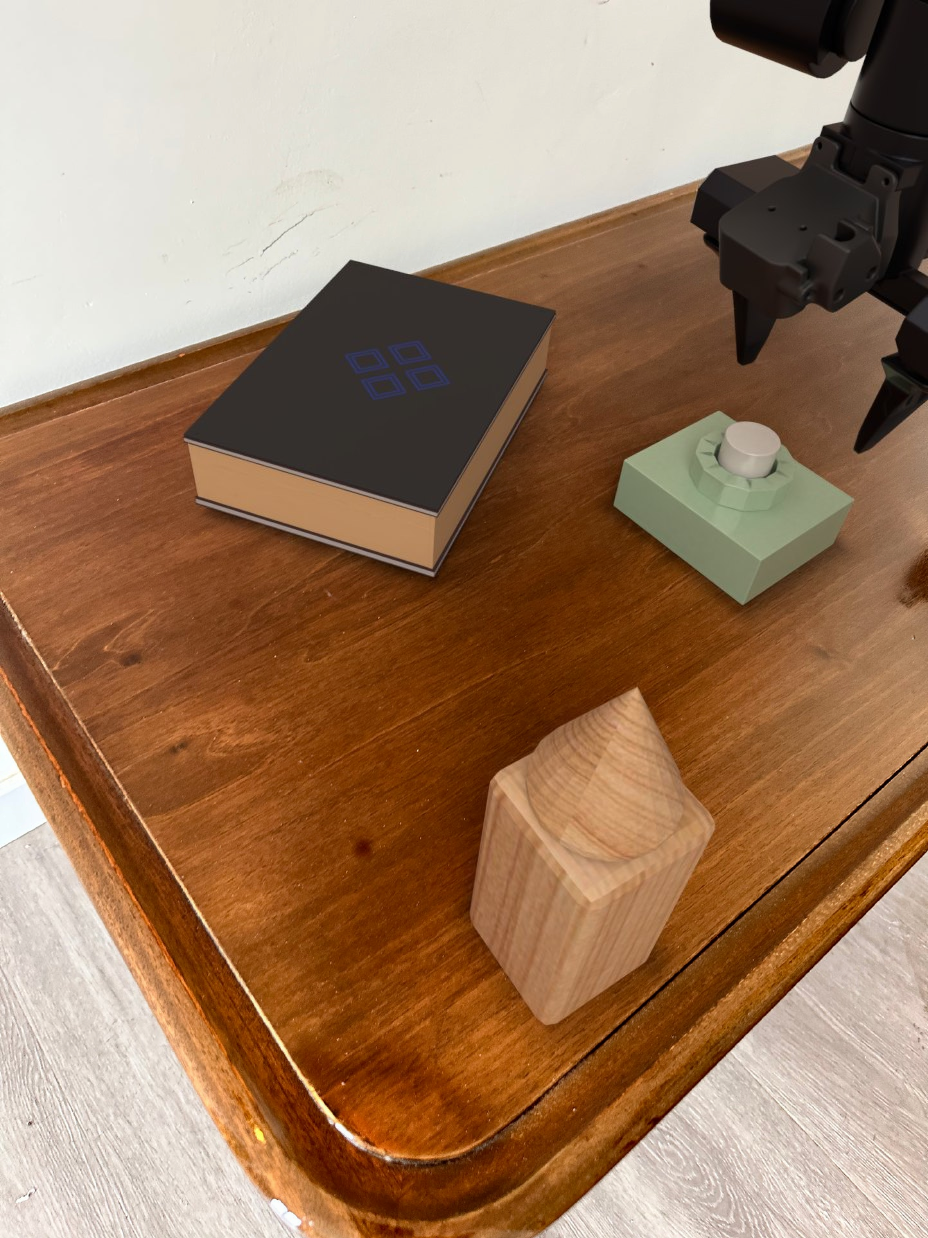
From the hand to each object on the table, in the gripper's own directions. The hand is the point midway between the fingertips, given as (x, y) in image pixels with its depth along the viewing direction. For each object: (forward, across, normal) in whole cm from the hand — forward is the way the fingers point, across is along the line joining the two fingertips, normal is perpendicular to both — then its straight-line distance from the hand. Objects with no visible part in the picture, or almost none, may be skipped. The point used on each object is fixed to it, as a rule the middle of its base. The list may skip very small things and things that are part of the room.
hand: (800, 404), depth 54 cm
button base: (+14, -4, +3) cm, 15 cm away
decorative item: (+14, +15, -25) cm, 32 cm away
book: (+14, -23, -14) cm, 30 cm away
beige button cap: (+8, -4, +3) cm, 9 cm away
